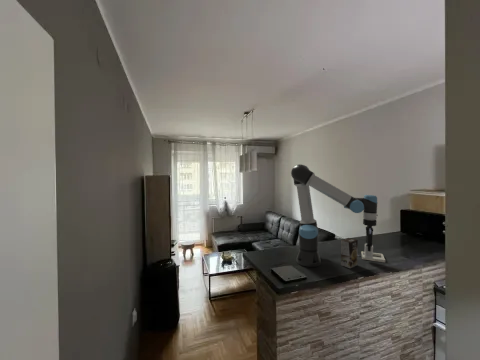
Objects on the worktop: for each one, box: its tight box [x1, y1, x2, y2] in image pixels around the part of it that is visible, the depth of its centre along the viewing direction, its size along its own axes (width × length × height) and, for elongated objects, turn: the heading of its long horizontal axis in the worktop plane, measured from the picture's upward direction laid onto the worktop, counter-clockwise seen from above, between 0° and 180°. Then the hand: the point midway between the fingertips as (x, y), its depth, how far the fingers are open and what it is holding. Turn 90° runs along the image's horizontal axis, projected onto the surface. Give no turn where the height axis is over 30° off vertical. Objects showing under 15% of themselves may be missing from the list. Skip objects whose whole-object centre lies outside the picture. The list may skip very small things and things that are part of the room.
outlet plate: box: [360, 251, 386, 263], centre depth 151 cm, size 13×12×2 cm
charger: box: [364, 243, 374, 259], centre depth 144 cm, size 4×4×8 cm
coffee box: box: [340, 237, 359, 269], centre depth 139 cm, size 9×6×16 cm
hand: (368, 254), depth 144 cm, fingers closed on charger, 4 cm apart
